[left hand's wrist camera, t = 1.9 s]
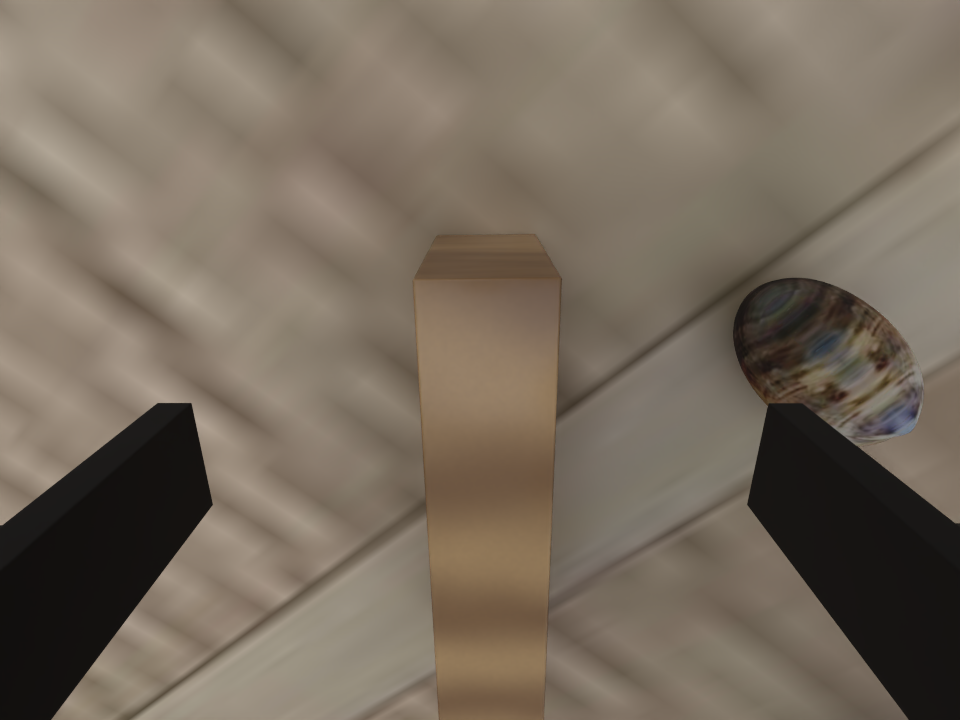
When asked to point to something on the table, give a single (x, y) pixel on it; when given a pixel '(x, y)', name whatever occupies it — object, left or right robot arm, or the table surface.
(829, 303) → the seashell
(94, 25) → the table surface
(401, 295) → the table surface
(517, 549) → the bar
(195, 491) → the left robot arm
